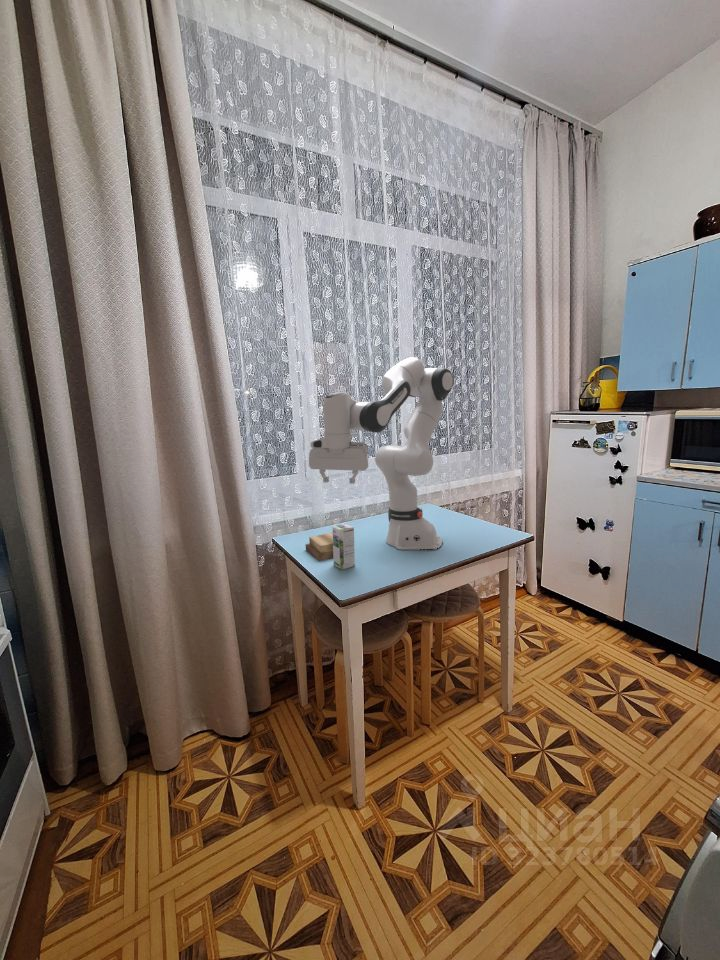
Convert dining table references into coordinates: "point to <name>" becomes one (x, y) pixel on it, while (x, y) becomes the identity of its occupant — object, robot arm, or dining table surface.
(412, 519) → the robot arm
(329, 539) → the oak top slab
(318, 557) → the walnut base slab
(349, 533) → the syrup box
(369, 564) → the dining table surface
